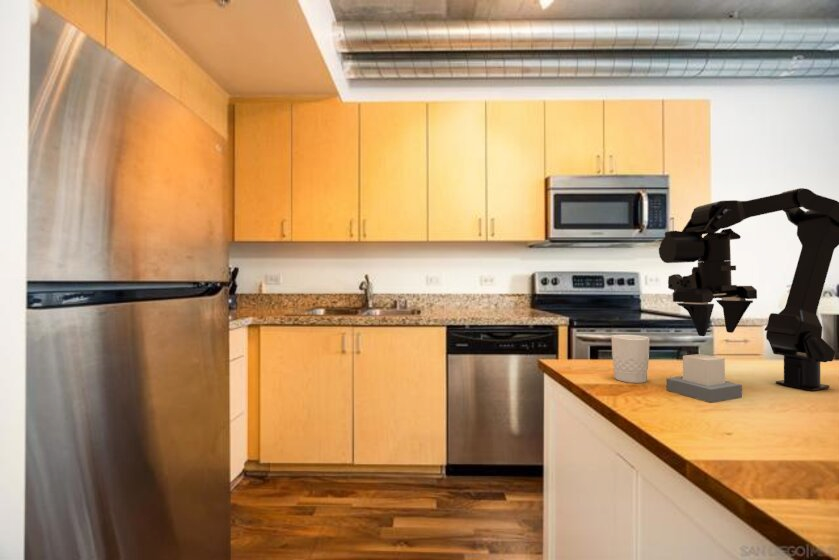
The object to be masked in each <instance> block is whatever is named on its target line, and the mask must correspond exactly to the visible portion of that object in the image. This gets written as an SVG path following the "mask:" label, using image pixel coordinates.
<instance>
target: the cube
mask: <svg viewBox="0 0 839 560" xmlns="http://www.w3.org/2000/svg"><path fill="white" fill-rule="evenodd" d="M725 362H726V361H725V358H724V357H720V356H712V355H707V354H701V353H698V354H697V353H695V354H688V355H683V356H682V376H683V380H686V381H690V382H694V383H698V384H702V385H706V386H711V385H717V384H724V383H725V381H726V369H725V367H726V363H725Z"/></svg>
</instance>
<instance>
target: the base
mask: <svg viewBox="0 0 839 560" xmlns="http://www.w3.org/2000/svg"><path fill="white" fill-rule="evenodd" d="M667 390H668V392H671V393H675V394H679V395H683V396H685V397H689V398H691V399H692V398H693V399H696V400H699V401H703V402H708V403H717V402H723V401H729V400H736V399H740V398H743V384H740V383H736V382H731V381H727V380H725V383H724V384H717V385H711V386H706V385H702V384H698V383H694V382H690V381H686V380H683V375H682V376H676V377H675V376H673V377H667V378H666V391H667Z"/></svg>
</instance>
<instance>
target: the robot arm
mask: <svg viewBox="0 0 839 560" xmlns="http://www.w3.org/2000/svg"><path fill="white" fill-rule="evenodd" d="M802 208H803V209H802ZM804 209H805V210H806V211H805V210H804ZM780 211H783V212H784V213H785V215H786V218H787V220H788V221H789V222H790V223H791V224H792V225H794V226H796V227H797V229H796V236H797V238H798V240H799V242H800V245H801V250H800V254H799V257H798V260H797V264H796V267H795V271H794V275H793V277H792V281H791V286H790V289H789V292H788V297H787V300H786V304H785V306H784V308H783V309H782V310H781V311H780V312H779V313H774V312H773V313H770V314H769V315H768V321H767V324H766V327H765V328H764V332H765V331H766V334H765V336H766V337H765V338H766V340H767V341H768V342H769V345H770V347H771V351H772V353H773V355H778V356H779V355H780V356H783V379H782V380H775V384H778V385H783V386H786V387H791V388H796V389H800V390H801V389H802V390H804V391H805V390H806V391H811V392H813V391H814V392H815V391H819V390H824V389H825V390H826V389H829V388H830V385H828V384H823V383H821V363H827V362H833V361H834V358H835V354H836V351H835V350H834V348H832V347H831V346H830V345H829V344H828V343H827V342H826V341H825V340H824V339H823V338H822V335H823V325H822V324H821V321H820V319H819V316H818V315H817V314H818V313H817V312H818V307H819V305H820V300H821V298H822V297H821V296H822V295H823V290H824V287H825V283H826V280H827V276H828V272H829V268H830V267H831V262H832V258H833V254H834V251H835V249H836V248H837V247H838V246H839V201H838V200H836V199H832V198H831V197H829V198H828V197H826V196H823V195H819V194H816V193H815V192H814V191H812V190H810V189H809V188H804V187H803V188H802V187H800V188H796V189H791V190H787V191H783V192H781V193H777V194H772V195H768V196H763V197H759V198H755V199H754V198H753V199H749V200H737V199H736V200H733V199H732V200H719V201H715V202H710V203H707V204H703V205H699V206H696V207H695V208H694V209H693V211H692V212H691V214H690V219H689V220H688V221H687V223H686V225H685V226H684V227H683V229H682V230H681V231H679V230H669V231H665V232H664V237H663V239H662V240H661V242H660V245H659V247H658V255H659V258H660V260H661V261H663V263H664V264H665V263H666V264H674V263H675V264H676V263H678V264H679V263H695V262H697V266H693V267H692V269H691V274H688V275H683V276H682V275H681V274H678V273H676V274H671V275H669V276H668V279H667V285H668V287H667V288H668V289H669V290H672V291H673V292H672V302H673V303H677V306H680V307H682V308H684V310H686V311H687V313H688V314H689V316H690V318H691V321H692V323H693V324H694V327H695V330H696V332H697V334H698V336H699V337H706V334H707V331H708V329H709V325H710V321H711V317H712V314H713V310H714V306H715V303H712V302H713V299H717V300H715V301H716V303H718V305H719V306H721V308H722V311H723V318H724V325H725V330H726V332H727V333H729V334H730V333H731V334H732V333H734V332H735V330H736V329H737V326H738V325H739V323H740V321H741V319H742V318H743V316H744V314H745V313H746V312H747V310H748V308H749V307H750V306H751V304H753V303H754V300H757V299H758V292H757V291H758V290H757V289H756V288H755V287H754V286H752V285H737V284H732V271H736V270H737V265H732V261H731V259H732V258H731V241H732V240H739V239H741V237H742V236H741V235H740V234H738V233H737V232H735V231H734V230H733V229H732V228H730V227H733V226H734V225H737V224H740V223H741V222H743V221H744V220H746V219H749V218H752V217H757V216H761V215H767V214H771V213H775V212H780ZM721 229H722V230H721ZM719 230H721V231H720V232H719ZM703 235H704V236H703ZM746 299H747V300H746Z"/></svg>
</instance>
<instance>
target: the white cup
mask: <svg viewBox="0 0 839 560" xmlns="http://www.w3.org/2000/svg"><path fill="white" fill-rule="evenodd" d="M650 341H651V340H650V337H648V336H643V335H636V334H613V335H611V350H612V351H611V352H612V353H611V354H612V356H611V357H612V364H613V365H612V366H613V376H614V379H615V380H617V381H620V382H624V383H631V384H632V383H633V384H643V382H644V383H646V382H647V381H648V370H649V360H650V357H649V356H650Z"/></svg>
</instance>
